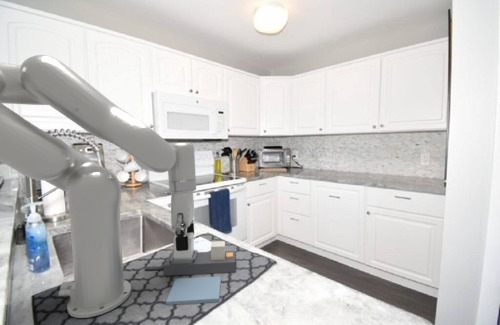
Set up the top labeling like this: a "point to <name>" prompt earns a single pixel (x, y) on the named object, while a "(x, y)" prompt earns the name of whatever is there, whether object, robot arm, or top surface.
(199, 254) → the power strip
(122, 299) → the robot arm
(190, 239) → the block
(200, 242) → the external hard drive
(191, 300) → the mat
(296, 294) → the top surface
